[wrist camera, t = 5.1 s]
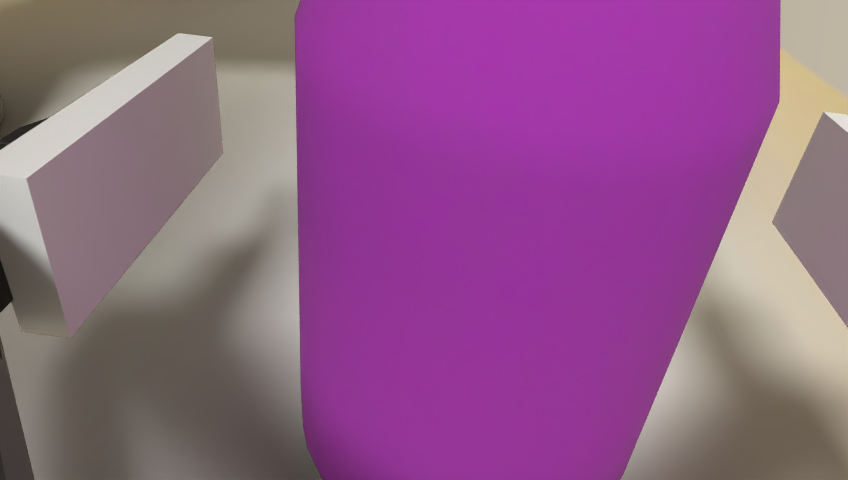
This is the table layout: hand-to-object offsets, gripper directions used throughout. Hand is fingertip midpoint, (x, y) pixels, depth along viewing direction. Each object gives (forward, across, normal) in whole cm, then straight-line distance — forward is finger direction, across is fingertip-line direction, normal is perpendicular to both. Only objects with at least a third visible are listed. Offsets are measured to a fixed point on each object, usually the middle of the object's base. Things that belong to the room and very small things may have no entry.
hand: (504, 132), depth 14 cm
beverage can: (-2, 0, -7) cm, 8 cm away
